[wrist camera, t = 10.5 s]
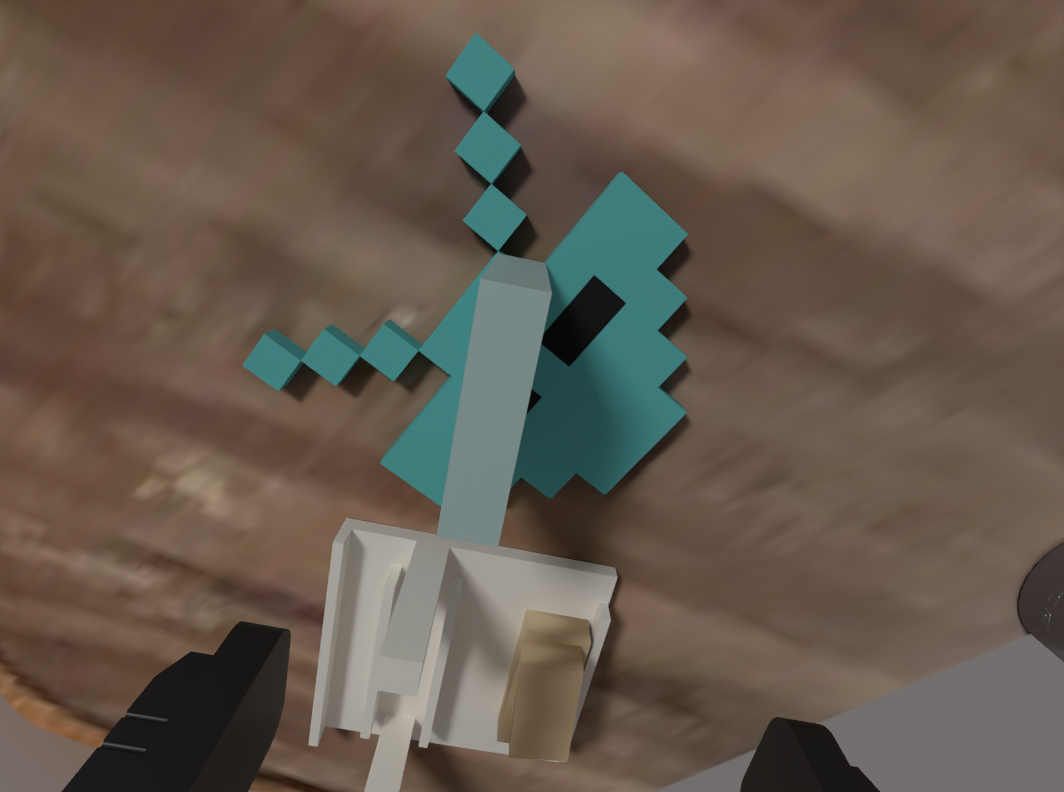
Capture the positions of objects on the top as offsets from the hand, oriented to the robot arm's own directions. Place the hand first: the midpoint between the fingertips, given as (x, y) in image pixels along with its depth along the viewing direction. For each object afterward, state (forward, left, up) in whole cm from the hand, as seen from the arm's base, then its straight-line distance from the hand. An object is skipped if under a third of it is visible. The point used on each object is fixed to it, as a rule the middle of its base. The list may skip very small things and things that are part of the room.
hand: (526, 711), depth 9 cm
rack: (0, +20, -23) cm, 31 cm away
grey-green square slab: (+1, 0, -22) cm, 22 cm away
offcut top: (-5, +20, -20) cm, 29 cm away
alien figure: (+1, -1, -24) cm, 24 cm away
